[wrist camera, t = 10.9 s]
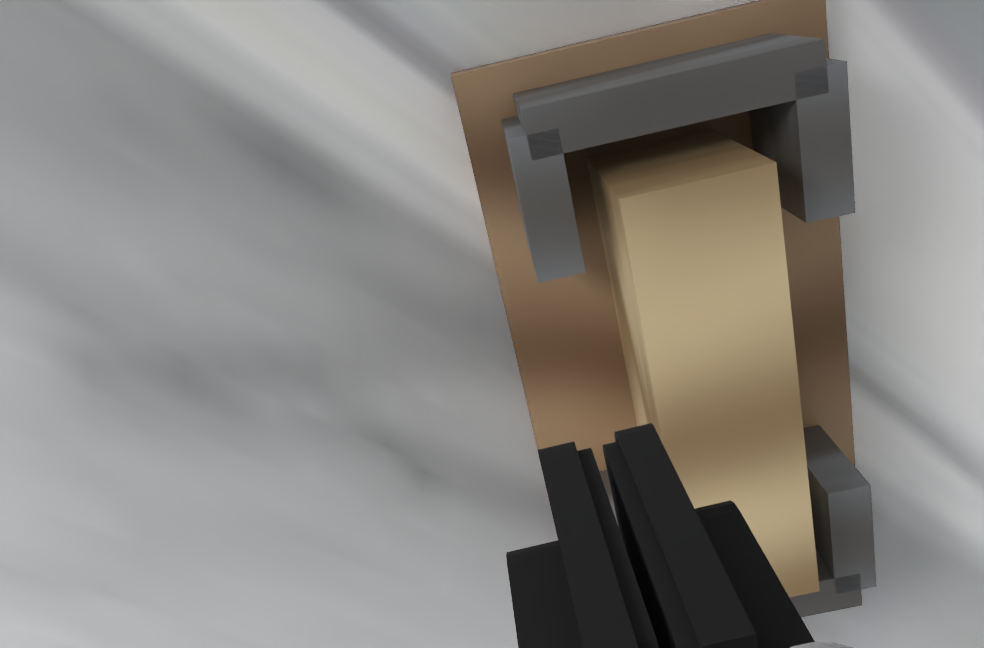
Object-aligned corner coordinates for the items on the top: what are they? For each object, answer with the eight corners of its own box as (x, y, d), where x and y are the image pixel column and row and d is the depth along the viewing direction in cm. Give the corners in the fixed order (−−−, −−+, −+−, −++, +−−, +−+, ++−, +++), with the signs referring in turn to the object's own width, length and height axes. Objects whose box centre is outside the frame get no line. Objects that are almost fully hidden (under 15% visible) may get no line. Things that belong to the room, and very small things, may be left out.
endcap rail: (451, 73, 23) (449, 89, 18) (809, -12, 22) (890, -15, 18) (569, 582, 29) (588, 680, 25) (847, 526, 29) (912, 615, 25)
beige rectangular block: (586, 158, 23) (619, 199, 18) (711, 129, 22) (776, 162, 18) (653, 511, 27) (693, 617, 22) (757, 489, 27) (819, 591, 22)
